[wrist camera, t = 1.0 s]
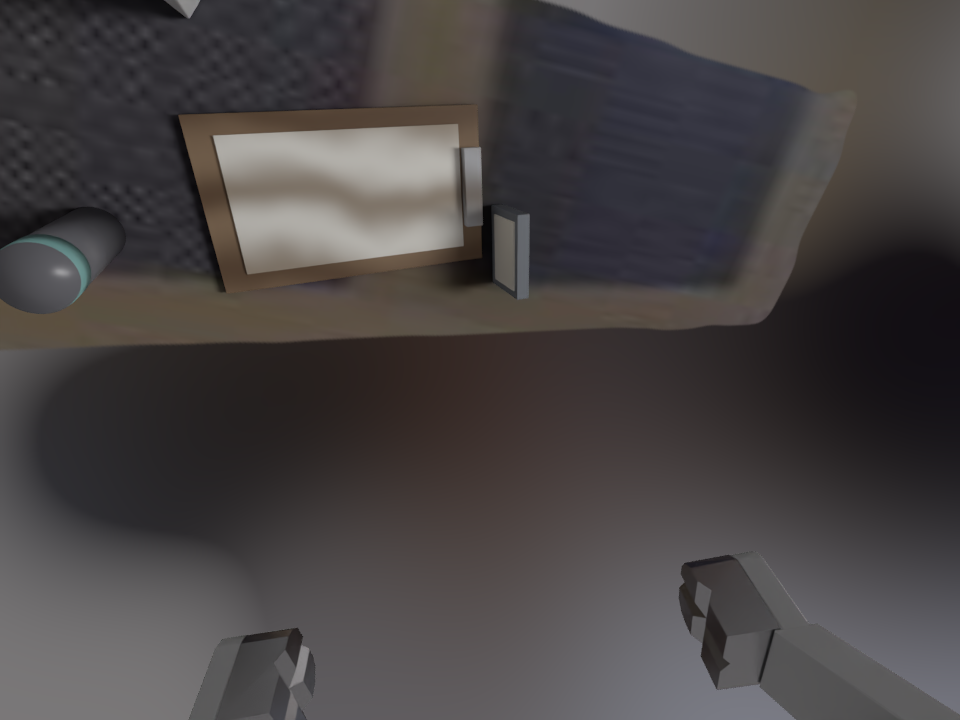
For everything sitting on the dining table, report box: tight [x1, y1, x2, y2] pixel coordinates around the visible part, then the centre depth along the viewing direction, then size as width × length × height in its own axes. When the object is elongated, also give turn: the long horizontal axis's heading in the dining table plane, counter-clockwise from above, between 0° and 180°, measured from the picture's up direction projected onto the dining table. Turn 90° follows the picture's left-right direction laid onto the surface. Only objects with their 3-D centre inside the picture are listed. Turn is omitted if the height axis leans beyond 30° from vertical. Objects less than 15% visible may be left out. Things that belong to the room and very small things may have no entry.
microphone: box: [0, 207, 126, 314], centre depth 34 cm, size 4×4×13 cm
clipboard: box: [178, 104, 483, 294], centre depth 44 cm, size 14×24×2 cm, turn 91°
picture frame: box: [491, 204, 530, 300], centre depth 50 cm, size 8×1×6 cm, turn 1°
